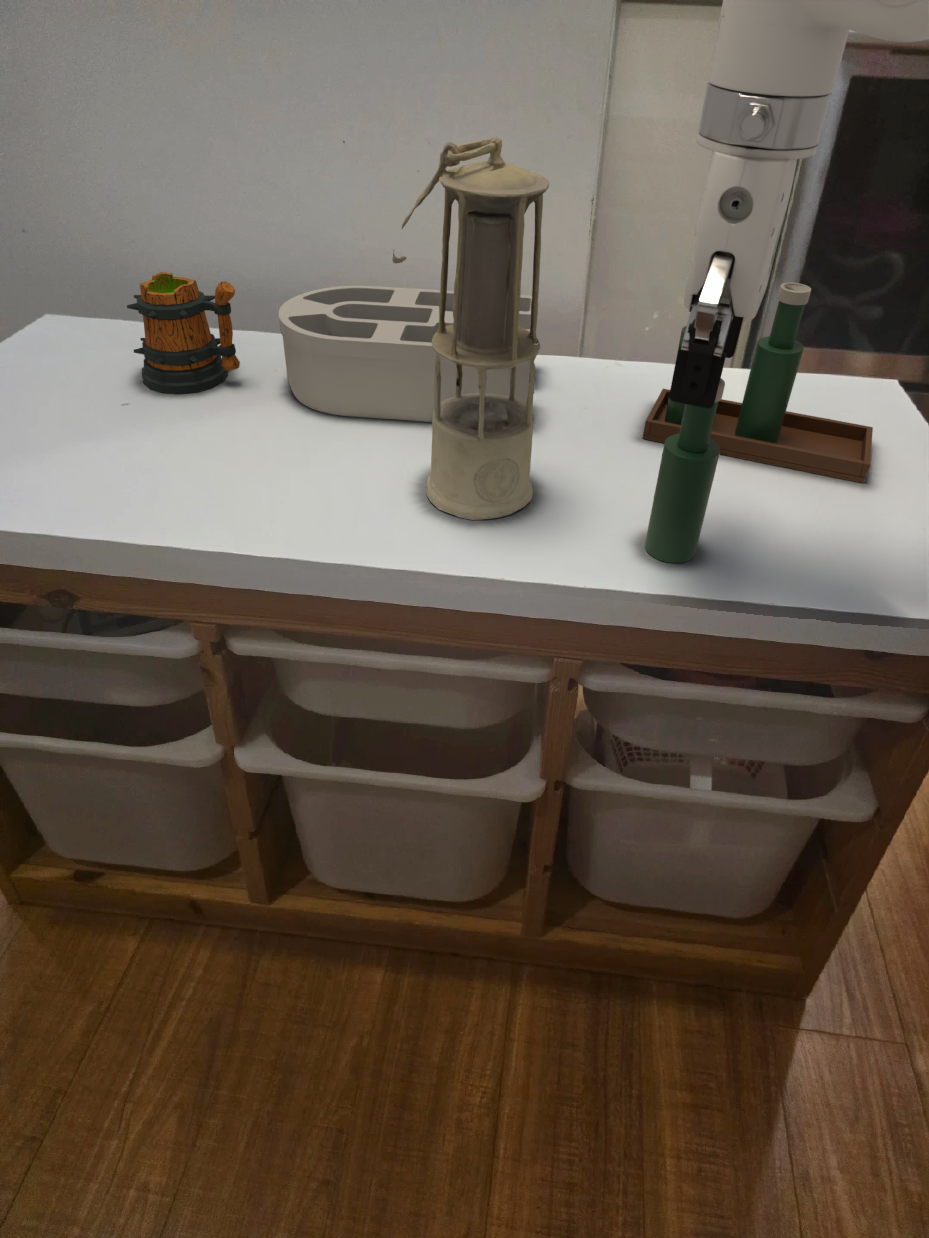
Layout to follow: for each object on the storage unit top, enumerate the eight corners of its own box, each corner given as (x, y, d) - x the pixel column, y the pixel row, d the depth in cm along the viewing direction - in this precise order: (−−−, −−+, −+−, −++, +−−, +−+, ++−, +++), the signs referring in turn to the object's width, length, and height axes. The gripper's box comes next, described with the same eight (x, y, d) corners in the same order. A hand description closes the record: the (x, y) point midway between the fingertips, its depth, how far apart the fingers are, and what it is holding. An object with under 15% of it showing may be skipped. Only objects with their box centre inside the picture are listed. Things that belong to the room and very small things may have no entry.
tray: (866, 445, 91) (873, 427, 89) (863, 483, 84) (870, 464, 83) (659, 405, 97) (662, 388, 95) (642, 438, 91) (645, 420, 89)
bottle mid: (768, 426, 92) (809, 279, 82) (783, 446, 89) (828, 295, 79) (728, 427, 92) (764, 279, 82) (742, 447, 88) (782, 295, 79)
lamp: (518, 528, 77) (548, 156, 58) (382, 503, 79) (367, 139, 60) (543, 473, 84) (576, 128, 65) (418, 452, 87) (415, 115, 68)
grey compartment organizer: (527, 431, 91) (533, 352, 86) (269, 413, 93) (259, 335, 87) (533, 368, 104) (539, 296, 98) (306, 353, 106) (300, 281, 100)
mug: (122, 387, 97) (96, 283, 90) (171, 353, 104) (151, 255, 97) (225, 404, 94) (208, 299, 87) (267, 369, 102) (255, 269, 94)
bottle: (687, 533, 77) (725, 368, 67) (702, 562, 73) (744, 392, 63) (639, 535, 76) (670, 369, 66) (651, 564, 73) (686, 393, 63)
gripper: (811, 155, 47) (735, 437, 58) (831, 106, 59) (766, 346, 70) (675, 139, 49) (627, 414, 60) (723, 95, 61) (675, 329, 72)
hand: (702, 377), depth 65 cm, fingers open, 9 cm apart
